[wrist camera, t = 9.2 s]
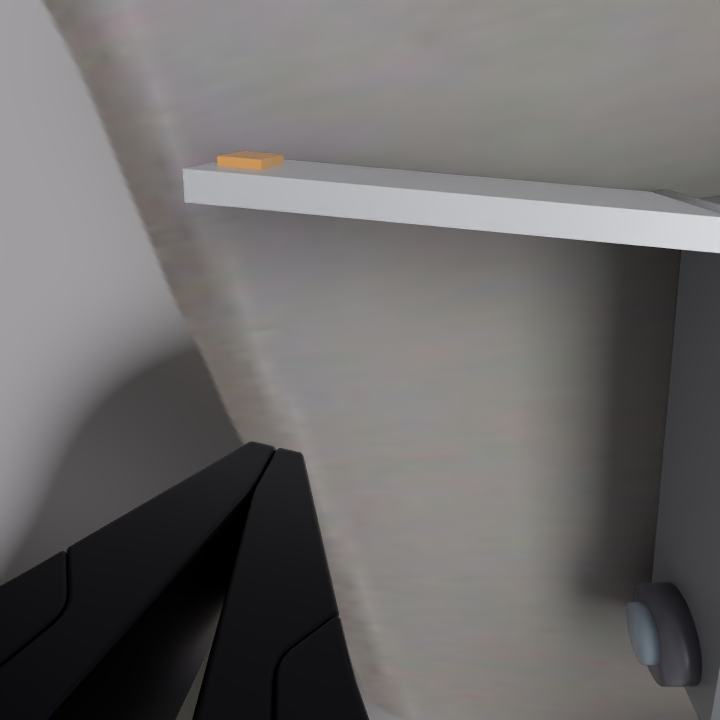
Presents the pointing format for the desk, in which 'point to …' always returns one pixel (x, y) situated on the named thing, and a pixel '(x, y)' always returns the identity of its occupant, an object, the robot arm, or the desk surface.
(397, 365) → the desk surface
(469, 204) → the door
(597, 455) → the desk surface
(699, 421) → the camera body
